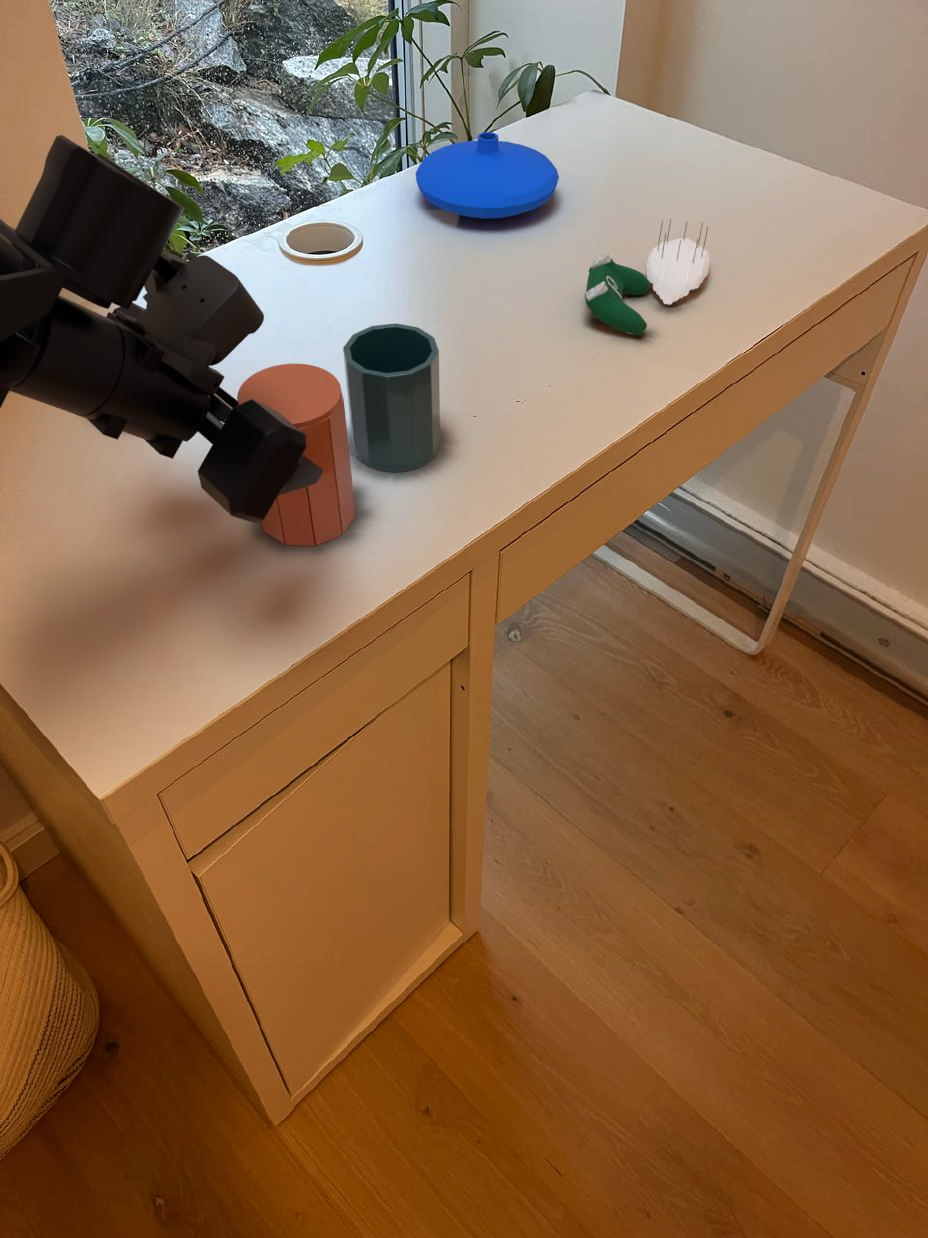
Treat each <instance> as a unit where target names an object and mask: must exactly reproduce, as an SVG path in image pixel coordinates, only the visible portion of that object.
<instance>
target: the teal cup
mask: <svg viewBox="0 0 928 1238" xmlns="http://www.w3.org/2000/svg"><path fill="white" fill-rule="evenodd" d="M342 351H343V361H344V371H345V372H344V373H345V381H346V392H347V402H348V414H349V422H350V431H351V440H352V444H353V451H354V454H355V456H356V457H357V459H358V460H359V461H360V462H361V463H362V464H364V465H365V466H367V467H369V468H372V469H374V470H377V471H380V472H381V471H382V472H387V473H403V472H409V471H413V470H416V469H418V468H421V467H423V466H424V465H426V464H428V463H429V462H430V461H432V460H433V459H434V458H435V457H436V455H437V453H438V451H439V448H440V442H441V405H440V403H441V401H440V400H441V399H440V398H441V397H440V395H441V394H440V393H441V391H440V350H439V347H438V344H437V341H436V339H435V337H434V336H433V335H431V334H429V333H428V332H427V331H425V330H423V329H422V328H420V327H418V326H413V325H407V324H403V323H395V322H394V323H386V324H378V325H370V326H369V327H366V328H364V329H362V330H360V331H357V332H355V333H353V334H352V335H351V336H350V338H349V339H348V340H347V342H346V343H345V345H344V346H343V347H342Z"/></svg>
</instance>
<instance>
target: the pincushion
mask: <svg viewBox="0 0 928 1238" xmlns="http://www.w3.org/2000/svg"><path fill="white" fill-rule="evenodd" d="M663 222H664V220H661V226H660V230H662V229H663V224H664V223H663ZM671 222H672V218H670V221H669V226H668V232H667V233H665V235H664V240H663V241H662V242H661V235H662V231H660V232H659V238H658V243H657V245H656V246H654V247H653V249H652V251H651V252H650V253H649V255H648V258H647V260H646V265H645V269H646V271H645V272H646V278H647V279H648V281H649V283H650V284H652V289H653V292H656V295H657V296H659V299H660V300H662V302H663V304H664V305H669V306H671V305H672V304H673V303H674V302H677V301H678V300H679V299H683V297H687V296H688V295H689V294H690V291H694V290H697V289H698V288H699V287H700V286H701V284H702V283H703V282H704V279H705V278H707V276H708V273H709V270H710V266H711V257H710V253H709V251H708V250H707V248H705V244H706V239H707V235H708V230H709V226H706V231H705V237H704V240H703V241H704V242H703V246H702V245H700V241H701V234H702V229H703V224H704V223H703V221H702V222H701V226H700V232H699V237H698V238H697V239H696V242H694V240H692V239H690V238H687V237H686V231H687V225H688V221H686V223H685V229H684V234H683V237H678V238H675V239H670V240H669V235H670V230H671V229H670V228H671ZM685 237H686V238H685ZM660 242H661V243H660Z"/></svg>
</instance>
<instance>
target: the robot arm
mask: <svg viewBox="0 0 928 1238" xmlns="http://www.w3.org/2000/svg"><path fill="white" fill-rule="evenodd" d="M184 211H185V207H183V206H182V205H180V204H179V203H177V202H176V201H174V200H173V199H171V198H170V197H168V196H166V195H165V194H164V193H162V192H160V191H159V190H157V189H156V188H154V187H153V186H152V185H150V184H148V183H147V182H145V181H144V180H143V179H141V178H139V177H138V176H136V175H134V174H133V173H132V172H130V171H129V170H127V169H125V168H124V167H122V166H121V165H120V164H118V163H116V162H114V161H113V160H111V159H110V158H108V157H107V156H105V155H103V154H102V153H100V152H97V154H94V153H93V152H91V151H90V150H88V149H86V148H84V147H83V146H82V145H79V144H77V142H74V141H73V140H71V139H69V138H68V137H66V136H65V135H63V134H59V135H56V137H54V140H53V142H52V144H51V146H50V149H49V150H48V153H47V155H46V157H45V162H44V166H43V169H42V174H41V177H40V178H39V180H38V182H37V185H36V186H35V188H34V191H33V193H32V194H31V197H30V199H29V201H28V203H27V205H26V207H25V209H24V211H23V213H22V215H21V216H20V219H19V221H18V223H17V225H16V227H13V226H11V225H9V224H7V223H6V222H5V221H4V220H3V219H1V218H0V409H1V408H2V406H3V404H4V402H5V400H6V398H7V396H8V395H9V393H10V392H11V393H14V394H17V395H20V396H22V397H26V398H28V399H31V400H34V401H37V402H39V403H43V404H45V405H48V406H51V407H53V408H55V409H59V410H62V411H65V412H68V413H70V414H72V415H73V414H74V415H75V416H79V417H80V418H84V419H86V420H87V421H88V422H89V423H90V424H92V425H93V427H94V428H96V430H98V432H100V433H101V435H103V436H105V437H109V438H111V439H114V440H117V441H118V440H119V438H120V436H121V435H122V433H126V434H129V435H132V436H134V437H137V438H139V439H142V440H144V441H145V442H146V443H147V444H148V445H149V446H150V447H151V448H152V449H154V450H155V451H156V452H157V453H158V454H159V455H160V456H163V457H165V458H169V459H172V460H174V458H175V456H176V454H177V453H178V451H179V449H180V447H181V445H182V444H183V442H185V443H187V442H189V441H191V439H192V438H193V437H195V435H196V434H197V433H199V434H200V435H201V436H202V437H203V438H204V439H206V440H207V441H208V442H209V443H211V447H210V448H209V450H208V452H207V453H206V455H205V457H204V459H203V461H202V462H201V464H200V466H199V468H198V470H197V475H198V479H199V483H200V487H201V489H202V490H203V491H204V492H205V493H206V494H207V495H208V496H209V497H211V499H213V500H214V501H215V502H216V503H217V504H218V505H219V506H220V507H221V508H222V509H223V510H224V511H225V512H226V513H228V515H230V516H231V517H233V518H237V519H240V520H243V521H247V522H249V523H253V524H255V523H258V522H262V521H261V520H264V519H265V517H266V515H267V513H268V512H269V510H270V508H271V507H272V505H273V503H274V502H275V500H276V498H277V496H279V495H282V494H285V493H288V492H291V491H294V490H298V489H301V488H304V487H307V486H310V485H314V484H316V483H317V481H318V480H319V478H320V476H321V475H322V473H323V470H322V469H321V468H320V467H318V466H317V465H316V464H314V463H313V462H312V461H311V460H309V459H308V458H307V457H305V456H304V455H303V452H304V451H305V449H306V447H307V446H306V434H305V433H303V432H302V431H301V430H300V429H298V428H297V427H296V426H295V425H293V424H292V423H291V422H290V421H288V420H287V419H286V418H285V417H283V416H282V415H281V414H279V413H278V412H277V411H276V410H273V409H271V408H269V407H268V406H266V405H264V404H262V403H260V402H258V401H256V400H253V399H251V400H249V401H247V402H244V403H242V404H240V405H238V400H237V398H235V397H234V396H233V395H231V393H228V392H227V391H226V390H225V389H223V388H222V386H221V384H222V383H223V381H224V379H225V375H223V374H222V373H221V372H220V371H218V370H217V369H215V368H213V367H214V366H216V365H218V364H220V363H221V362H223V361H224V360H225V359H226V358H227V357H228V356H229V355H230V354H231V353H232V352H233V351H234V350H235V349H236V348H237V347H238V346H239V345H240V344H242V342H243V341H244V340H245V339H246V338H247V337H248V336H250V335H252V334H255V333H256V332H257V331H258V330H259V329H260V328H261V327H262V325H263V323H264V320H265V315H264V312H263V310H261V308H260V306H259V305H258V304H257V303H256V301H255V300H254V298H253V297H252V296H251V294H250V293H249V291H248V289H247V288H246V287H245V285H243V282H241V280H240V279H239V277H238V276H237V275H236V274H235V273H234V272H232V271H230V270H229V269H228V268H226V267H225V266H224V265H222V264H220V263H219V262H218V261H216V260H215V259H213V258H212V257H210V256H209V255H204V254H201V255H196V254H195V253H193V252H192V251H190V250H189V251H188V252H187V253H186V254H185V258H187V260H185V259H182V258H180V256H178V255H175V254H174V253H170V252H168V251H166V250H164V249H165V247H166V245H167V243H168V241H169V239H170V238H171V236H172V233H173V232H174V230H175V228H176V227H177V224H178V222H179V220H180V219H181V216H182V214H183V213H184ZM63 289H64V290H66V291H69V292H70V293H72V294H74V295H76V296H77V297H80V298H82V299H83V300H85V301H87V302H89V303H92V304H93V305H96V306H97V307H100V308H104V309H107V310H109V309H110V308H111V305H112V304H113V305H115V306H118V307H115V308H114V309H113V310H112V312H110V311H108V312H107V314H106V316H105V315H103V314H100V313H98V312H96V311H94V310H92V309H89V308H88V307H86V306H83V305H81V304H79V303H77V302H75V301H73V300H71V299H68V298H66V297H65V296H62V295H60V294H61V292H62V290H63ZM143 289H144V290H145V292H146V293H145V294H144V295H143V296H142V299H143V300H144V301H145V302H146V306H145V307H143V306H140V305H138V304H137V303H135V302H136V301H137V300H138V298H139V297H140V295H141V292H142V290H143ZM212 366H213V367H212Z"/></svg>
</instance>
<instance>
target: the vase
mask: <svg viewBox="0 0 928 1238" xmlns="http://www.w3.org/2000/svg"><path fill="white" fill-rule="evenodd" d="M559 180H560V175H559V172H558V169H557V168H556V166H555V165H554V163H553V162H552V161H551V160H550V159H549V158H548V156H547V155H546V154H543V153H542V152H540V151H538V150H537V149H534V148H532V147H529V146H527V145H523V144H520V143H515V142H511V141H504V140H503V141H502V140H499V135H498V134H497V133H495V132H491V131H484V132H480V133H479V134H478V135H477V140H469V141H462V142H454V143H452V144H449V145H446V146H443V147H439V148H438V149H436V150H434V151H432V152H431V153H429V154H428V155H427V156H426V157H424V158H423V160H422V161H421V162H420V164H419V165H418V167H417V169H416V171H415V182H416V184H417V187H418V190H419V192H420V193H421V195H422V196H423V197H424V199H425V200H426V201H428V202H429V203H431V204H432V205H433V206H435V207H437V208H440V209H442V210H444V211H447V212H448V213H449V212H450V213H452V214H455V215H459V216H463V217H467V218H471V219H483V220H489V219H490V220H492V219H502V218H510V217H513V216H517V215H520V214H523V213H526V212H529V211H532V210H533V211H534V210H536V209H537V208H539V207H541V206H543V205H544V204H546V203H547V202H548V201H549V200H550V199H551V198H552V197H553V196H554V193H555V191H556V188H557V186H558V182H559Z"/></svg>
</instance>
